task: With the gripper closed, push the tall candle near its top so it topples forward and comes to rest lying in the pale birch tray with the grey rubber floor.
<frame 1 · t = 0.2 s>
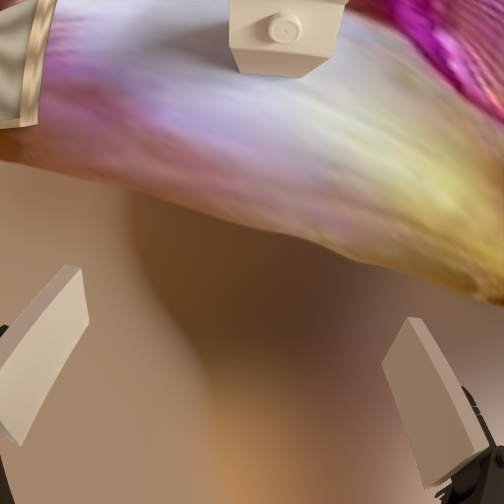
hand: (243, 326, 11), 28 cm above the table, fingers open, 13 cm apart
tray: (11, 62, 28), on the table
milk carton: (272, 48, 30), on the table
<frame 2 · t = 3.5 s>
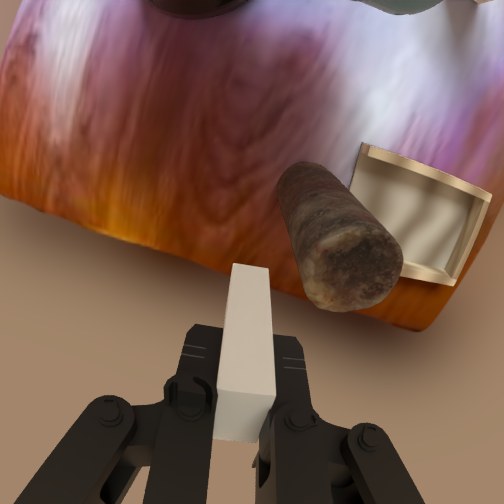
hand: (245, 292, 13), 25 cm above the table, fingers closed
tray: (413, 217, 38), on the table
candle: (307, 190, 37), on the table
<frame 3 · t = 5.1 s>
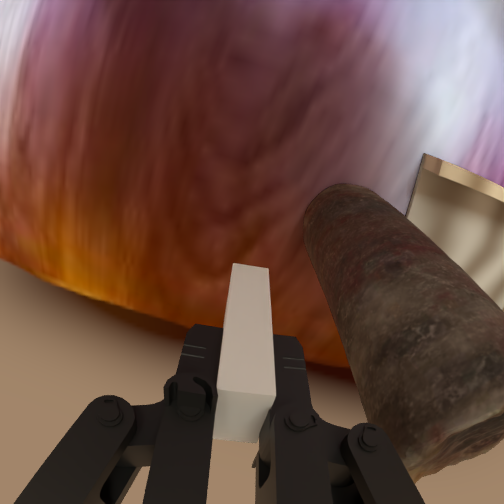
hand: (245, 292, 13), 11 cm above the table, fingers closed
tray: (476, 255, 25), on the table
candle: (346, 225, 24), on the table
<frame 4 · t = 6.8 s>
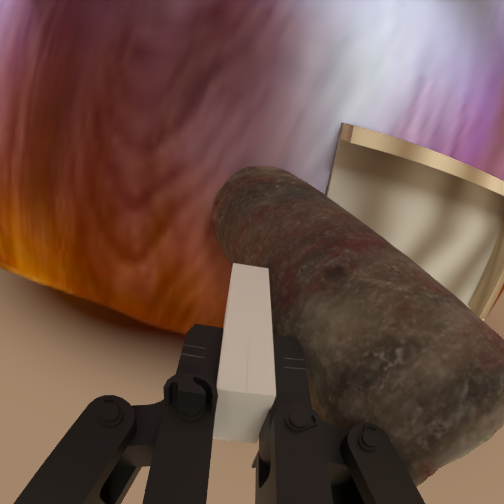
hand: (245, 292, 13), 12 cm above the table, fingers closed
tray: (426, 237, 25), on the table
candle: (260, 210, 23), point 1 cm above the table
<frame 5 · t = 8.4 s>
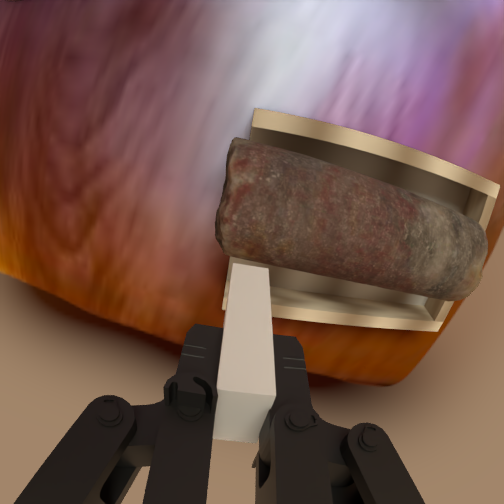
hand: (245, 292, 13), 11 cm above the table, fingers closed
tray: (364, 229, 24), on the table
candle: (216, 193, 19), point 4 cm above the table, touching tray
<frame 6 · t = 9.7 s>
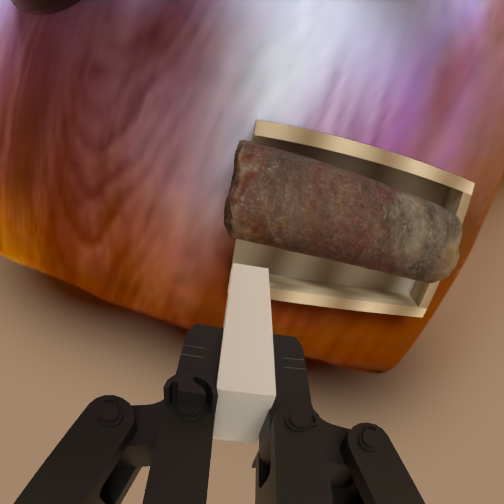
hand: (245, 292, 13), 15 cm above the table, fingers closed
tray: (352, 223, 28), on the table
candle: (225, 186, 23), point 4 cm above the table, touching tray
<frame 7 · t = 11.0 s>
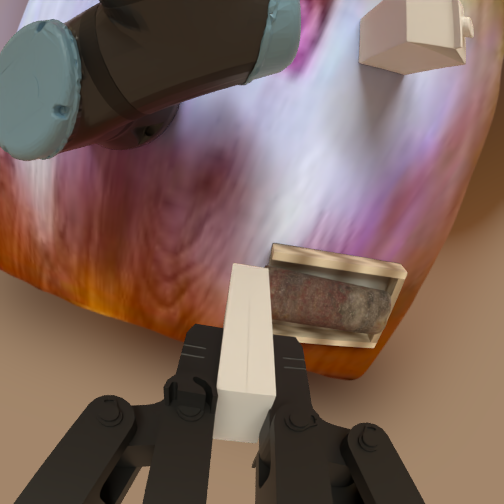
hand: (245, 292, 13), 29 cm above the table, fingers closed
tray: (328, 296, 48), on the table
candle: (256, 289, 43), point 4 cm above the table, touching tray
milk carton: (382, 47, 32), on the table
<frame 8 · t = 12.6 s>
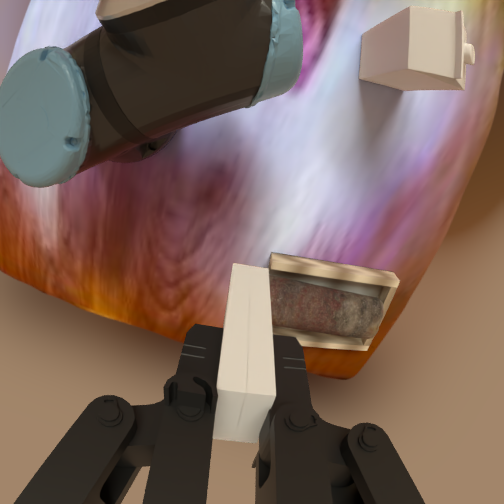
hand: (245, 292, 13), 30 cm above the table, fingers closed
tray: (323, 302, 50), on the table
candle: (255, 296, 45), point 4 cm above the table, touching tray
milk carton: (383, 62, 33), on the table
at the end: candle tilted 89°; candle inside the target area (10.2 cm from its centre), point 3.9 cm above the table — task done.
